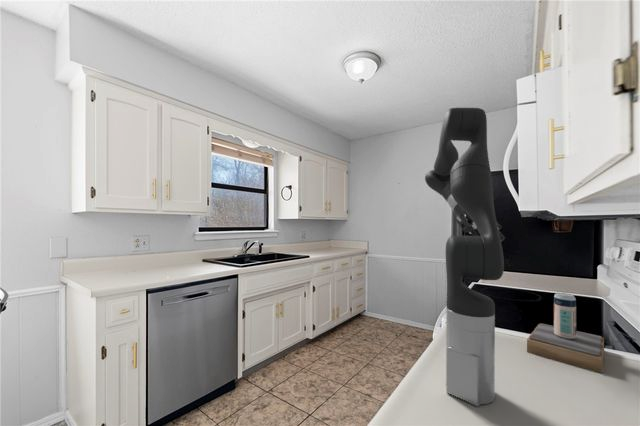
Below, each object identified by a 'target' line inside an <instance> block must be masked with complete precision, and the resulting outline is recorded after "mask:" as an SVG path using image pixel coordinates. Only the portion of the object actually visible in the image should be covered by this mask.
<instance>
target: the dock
mask: <svg viewBox="0 0 640 426" xmlns="http://www.w3.org/2000/svg"><path fill="white" fill-rule="evenodd" d="M526 353H530V354H532V355H537V356H540V357H543V358H548V359H551V360H554V361H558V362H560V363H565V364H568V365H571V366H575V367H579V368H582V369H584V370H585V369H586V370H589V371H593V372H595V373H600V374H603V365H604V356H605V355H604V354H605V337H604V338H603V337H602V336H601V335H597V334H593V333H587V332H583V331H579V330H576V338H574V339H564V338H561V337H558V336H557V335H556V334H555V333H554V325H551V324H547V323H541V322H540V323H538V324H537V325H536V327H535V328H534V330H533V331H531V333H530V335H529V336H528V337H527V339H526Z"/></svg>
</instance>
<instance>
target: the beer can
mask: <svg viewBox="0 0 640 426" xmlns="http://www.w3.org/2000/svg"><path fill="white" fill-rule="evenodd" d="M553 326H554V333H555V334H556V335H557V336H558V337H561V338H564V339H574V338H576V331H577V299H576V297H575V295H573V294H572V293H565V292H556V293H555V294H554V296H553Z"/></svg>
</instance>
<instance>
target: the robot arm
mask: <svg viewBox="0 0 640 426" xmlns="http://www.w3.org/2000/svg"><path fill="white" fill-rule="evenodd" d="M487 119H488V118H487V114H486V112H485V110H484V109H482V108H480V107H479V108H478V107H452V108H449V109H448V110H446V113H445V114H444V118H443V120H442V125H441V131H440V137H439V143H438V152H437V156H436V159H435V160H434V161H435V162H434V165H433V169H432V170H429V171H428V172H427V173H425V176H424V181H425V183H426V185H427V186H428V187H429V188H430V189H431V190H433V191H435V192H436V193H437V194H439V195H440V196H441V197H443V198H444V200H445V201H446V203H447V204H448V206H449V207H450V208H451V210H452V211H453V212H454V214H455V215H456V216H457V217H456V219H455V221H456V223H457V224H458V225H459V227H460V228H461V230H462V231H463V232H464V233H467V232H468V233H469V234H470V235H450V236H449V237H448V238H447V240H446V244H445V267H446V269H445V271H446V316H445V318H446V323H445V324H446V325H445V326H446V327H445V329H446V330H445V333H446V334H445V337H446V339H445V367H446V368H445V387H446V386H447V387H446V393H447V394H448V393H449V394H448V395H450V394H452V395H451V396H453V395H454V396H453V397H455V396H456V397H455V398H457V397H459V398H461V399H460V400H462V399H463V400H462V401H464V400H465V401H464V402H466V401H467V403H468V402H469V404H471V405H473V406H475V407H480V406H481V405H487V404H492V403H493V402H494V401H495V397H496V395H495V394H496V392H495V390H496V386H495V384H496V382H495V380H496V379H495V377H496V376H495V375H496V374H495V373H496V372H495V369H496V366H495V364H496V363H495V362H496V360H495V359H496V358H495V355H496V353H495V346H496V345H495V344H496V343H495V340H496V339H495V338H496V337H495V333H496V332H495V331H496V325H495V324H496V321H495V320H496V317H495V316H496V304H495V302H494V300H493V299H492V298H491V297H489V296H487V295H485V294H482V293H480V292H478V291H475V290H473V289H472V288H470V287H469V286H467V285H466V284H465V283H464V282H463V279H469V280H478V281H480V280H482V281H498V280H500V279H502V278H501V277H503V275H504V270H505V259H504V252H503V245H502V242H503V241H504V240H505V239H506V237H505V235H504V234H503V233H502V232H501V231H500V229H502V225H501V224H500V223H499V222H498V221H497V217H496V216H497V215H496V211H495V205H494V204H495V203H494V189H493V180H492V171H491V166H490V160H489V159H490V158H489V152H488V151H489V150H488V122H487ZM453 141H454V142H455V141H458V142H459V141H460V142H470V143H471V144H470V145H469V147H468V148H467V149H466V150H465V152H464V153H462V155H461V156H460V157H459V151H458V149H457V148H456V146H455V145H454V143H453ZM459 398H458V399H459Z"/></svg>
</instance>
